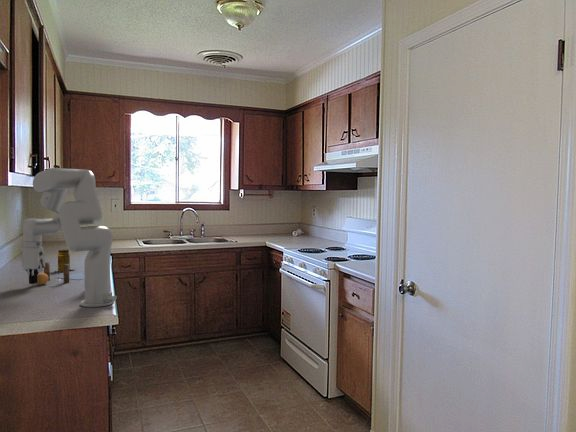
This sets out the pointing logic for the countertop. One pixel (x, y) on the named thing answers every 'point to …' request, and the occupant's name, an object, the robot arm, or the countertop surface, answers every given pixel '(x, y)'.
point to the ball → (42, 278)
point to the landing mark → (75, 276)
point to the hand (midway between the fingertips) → (33, 283)
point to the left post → (47, 269)
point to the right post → (66, 273)
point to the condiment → (63, 259)
